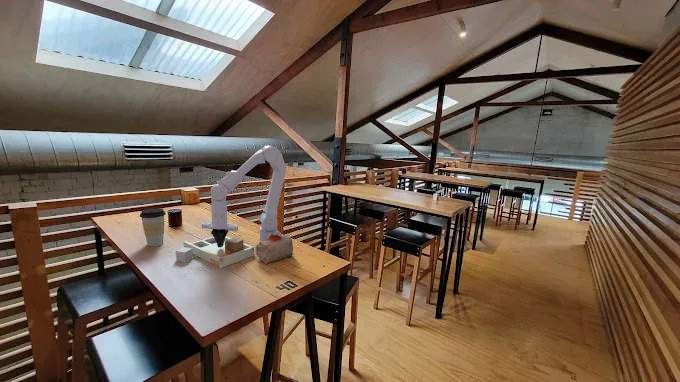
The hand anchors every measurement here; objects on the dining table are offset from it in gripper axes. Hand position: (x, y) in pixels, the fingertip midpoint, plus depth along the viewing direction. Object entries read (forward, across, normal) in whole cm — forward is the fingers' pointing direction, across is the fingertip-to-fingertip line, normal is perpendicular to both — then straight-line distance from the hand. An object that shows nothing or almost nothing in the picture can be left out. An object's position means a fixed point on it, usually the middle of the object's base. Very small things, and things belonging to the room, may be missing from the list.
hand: (220, 246), depth 120 cm
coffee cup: (+3, +32, -3) cm, 32 cm away
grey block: (+3, +10, +8) cm, 13 cm away
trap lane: (+3, +1, -1) cm, 3 cm away
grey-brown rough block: (+3, -23, -1) cm, 23 cm away
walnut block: (+1, -7, +2) cm, 7 cm away
